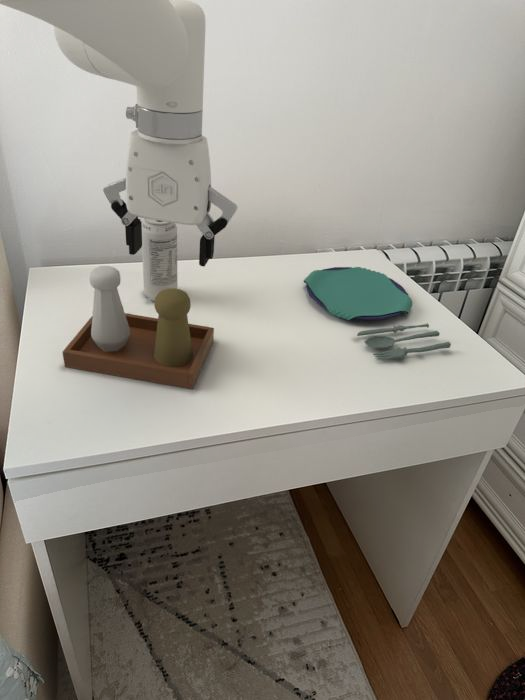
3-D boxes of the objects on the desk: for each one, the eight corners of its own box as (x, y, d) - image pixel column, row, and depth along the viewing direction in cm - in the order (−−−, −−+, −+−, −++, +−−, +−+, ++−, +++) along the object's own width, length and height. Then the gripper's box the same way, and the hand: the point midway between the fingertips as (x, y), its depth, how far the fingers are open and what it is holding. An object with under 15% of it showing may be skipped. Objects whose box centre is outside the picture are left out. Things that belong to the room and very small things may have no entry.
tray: (64, 366, 79) (62, 351, 78) (99, 322, 89) (98, 308, 88) (192, 389, 78) (193, 374, 76) (213, 341, 88) (214, 327, 86)
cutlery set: (375, 271, 114) (377, 261, 113) (460, 352, 92) (464, 341, 90) (289, 279, 108) (290, 268, 107) (357, 367, 85) (360, 356, 84)
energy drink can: (173, 286, 102) (172, 210, 93) (181, 301, 97) (180, 223, 88) (141, 289, 100) (137, 212, 91) (148, 305, 95) (144, 226, 86)
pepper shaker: (151, 345, 84) (149, 283, 78) (190, 342, 86) (190, 281, 79) (155, 368, 79) (152, 305, 73) (195, 365, 81) (196, 302, 75)
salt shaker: (125, 331, 87) (120, 258, 79) (135, 351, 83) (130, 276, 75) (88, 338, 84) (79, 263, 77) (96, 358, 80) (87, 282, 73)
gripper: (86, 119, 60) (97, 257, 70) (235, 141, 59) (226, 279, 69) (112, 107, 67) (119, 236, 76) (247, 127, 65) (237, 255, 75)
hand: (170, 256), depth 73 cm, fingers open, 9 cm apart
